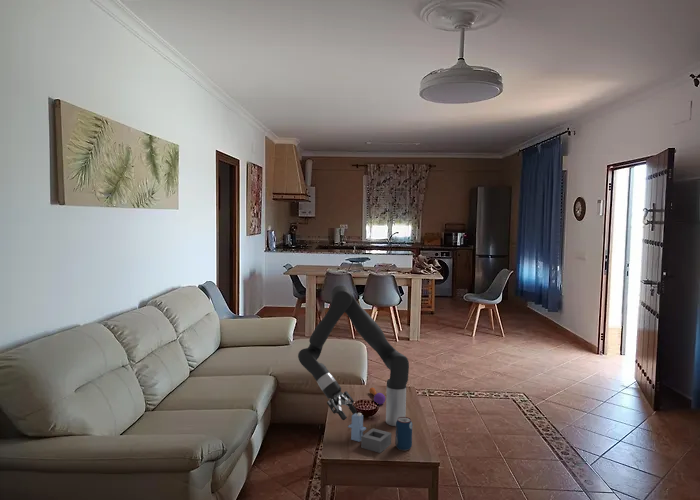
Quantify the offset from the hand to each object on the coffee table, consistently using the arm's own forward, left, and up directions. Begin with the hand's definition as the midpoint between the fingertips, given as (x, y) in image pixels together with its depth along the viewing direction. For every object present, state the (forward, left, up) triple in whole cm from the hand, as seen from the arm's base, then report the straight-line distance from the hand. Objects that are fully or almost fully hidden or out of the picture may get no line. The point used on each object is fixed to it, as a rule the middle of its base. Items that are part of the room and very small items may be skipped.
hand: (350, 416), depth 214 cm
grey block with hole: (+1, +14, -9) cm, 16 cm away
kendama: (-49, -13, -10) cm, 52 cm away
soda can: (-4, +24, -10) cm, 26 cm away
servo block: (0, +4, -9) cm, 10 cm away
